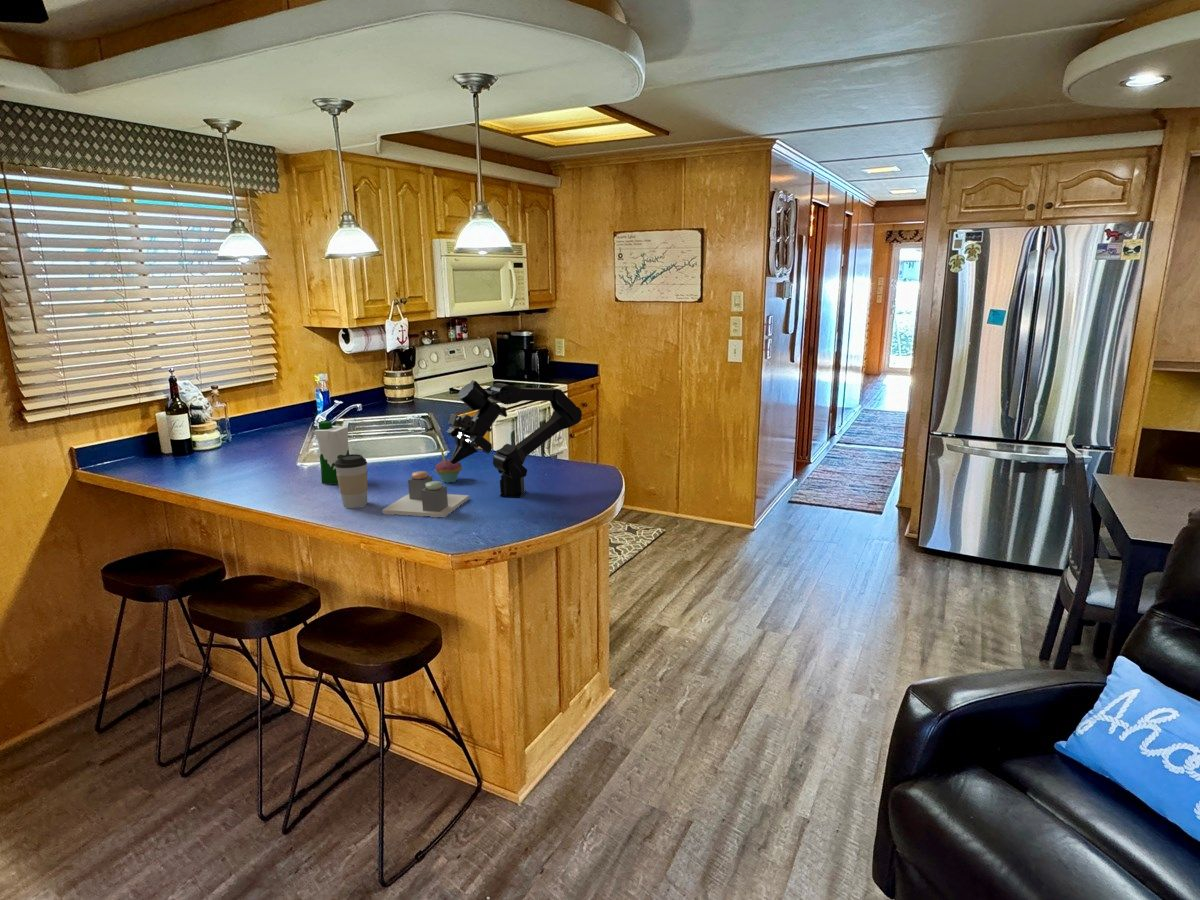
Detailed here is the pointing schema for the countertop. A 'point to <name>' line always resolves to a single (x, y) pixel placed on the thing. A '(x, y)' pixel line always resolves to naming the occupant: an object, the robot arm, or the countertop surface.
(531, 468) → the countertop surface
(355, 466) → the coffee cup
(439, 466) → the cupcake
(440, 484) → the sage button
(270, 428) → the countertop surface
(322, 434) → the milk carton
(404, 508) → the grey button stand
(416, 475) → the terracotta button
